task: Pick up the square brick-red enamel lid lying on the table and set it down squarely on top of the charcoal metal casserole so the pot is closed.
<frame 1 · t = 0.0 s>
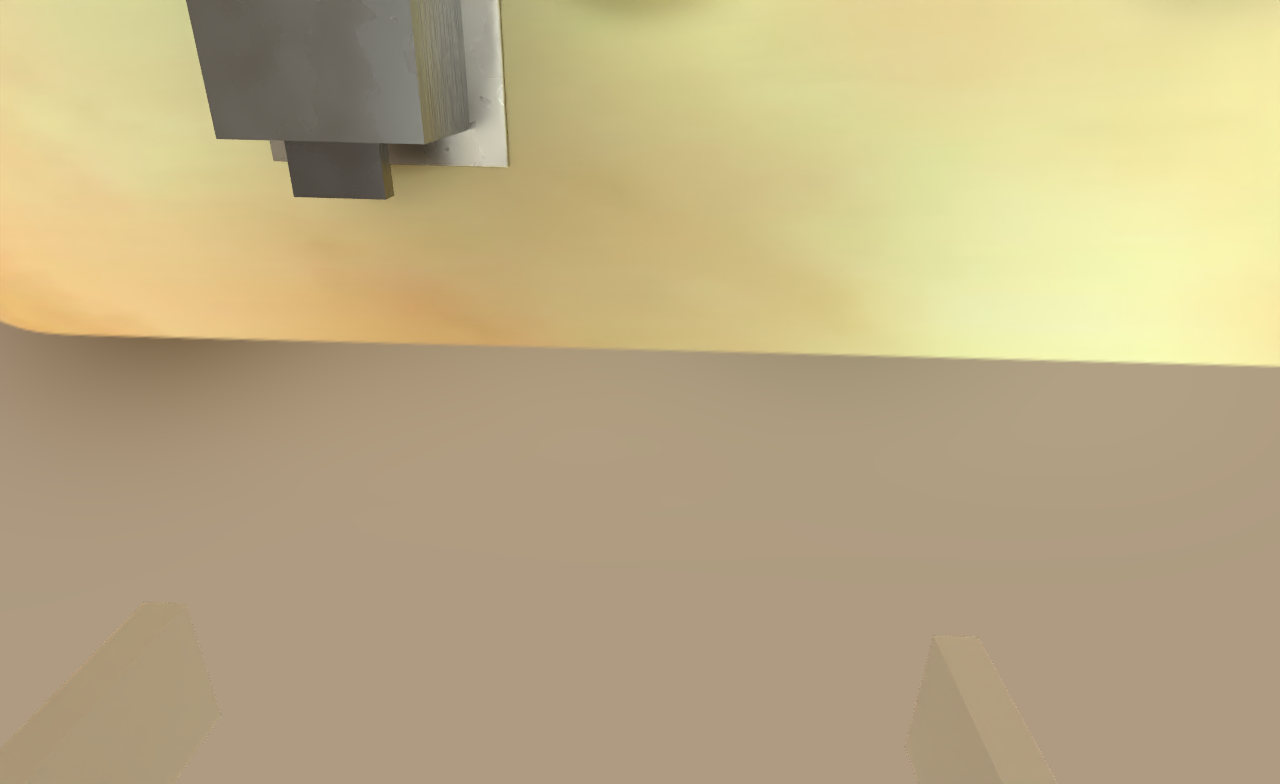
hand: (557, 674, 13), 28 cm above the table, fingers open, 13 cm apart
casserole: (377, 32, 34), on the table
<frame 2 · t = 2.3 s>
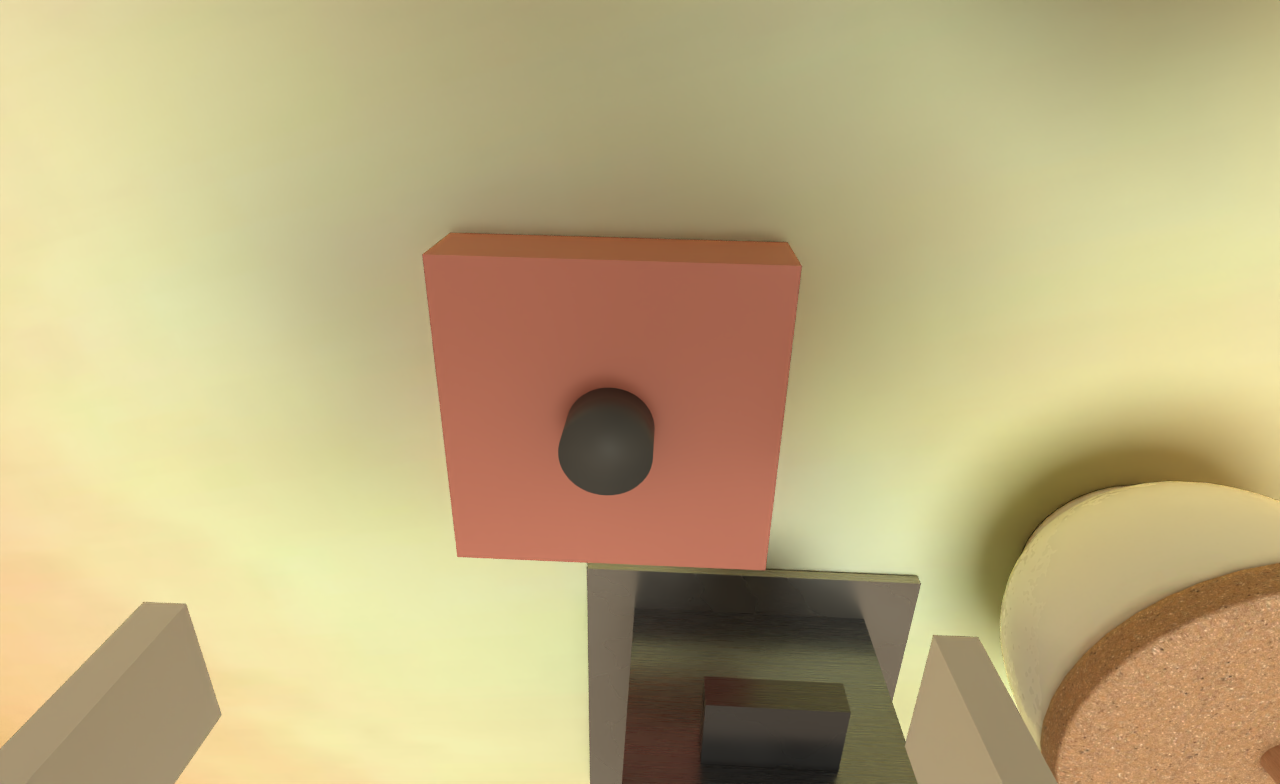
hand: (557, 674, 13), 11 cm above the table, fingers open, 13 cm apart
lidded jar: (1105, 554, 25), on the table
lid: (617, 384, 23), on the table
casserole: (738, 687, 28), on the table
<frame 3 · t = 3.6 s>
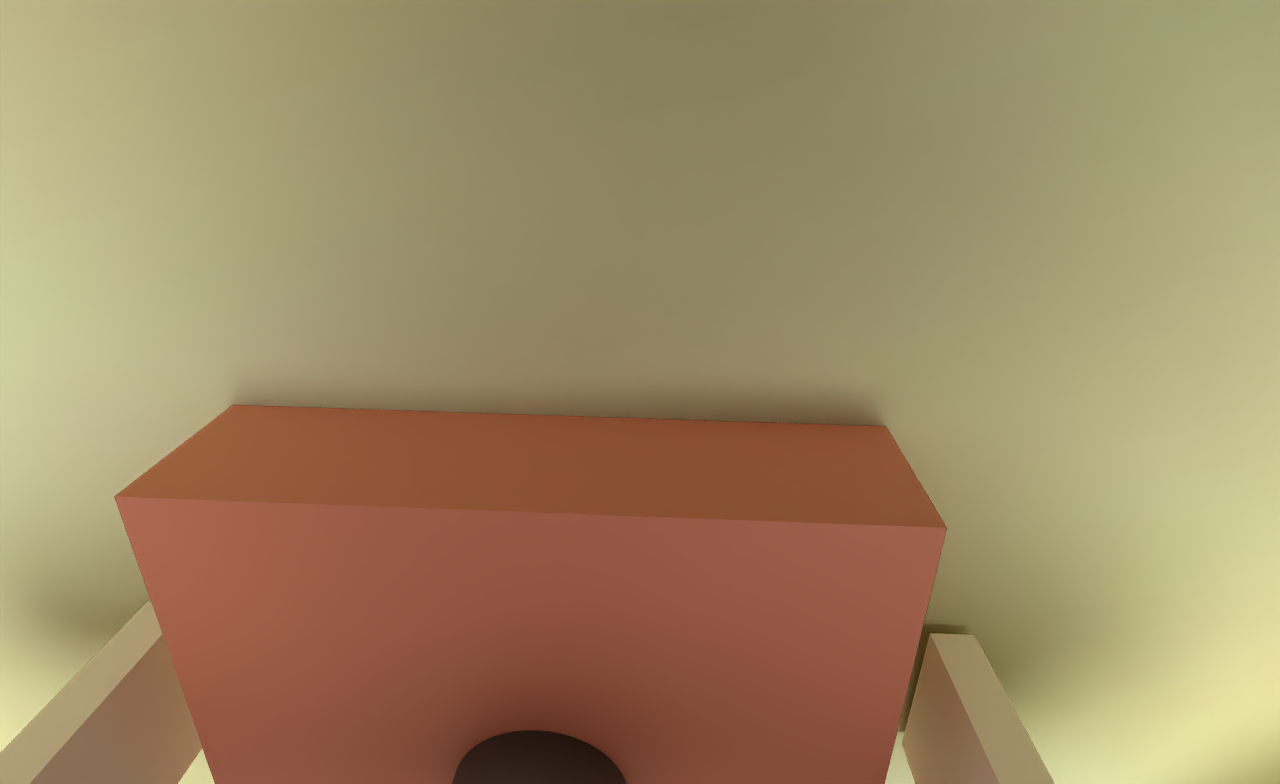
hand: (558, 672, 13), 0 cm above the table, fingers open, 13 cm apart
lid: (567, 642, 13), on the table
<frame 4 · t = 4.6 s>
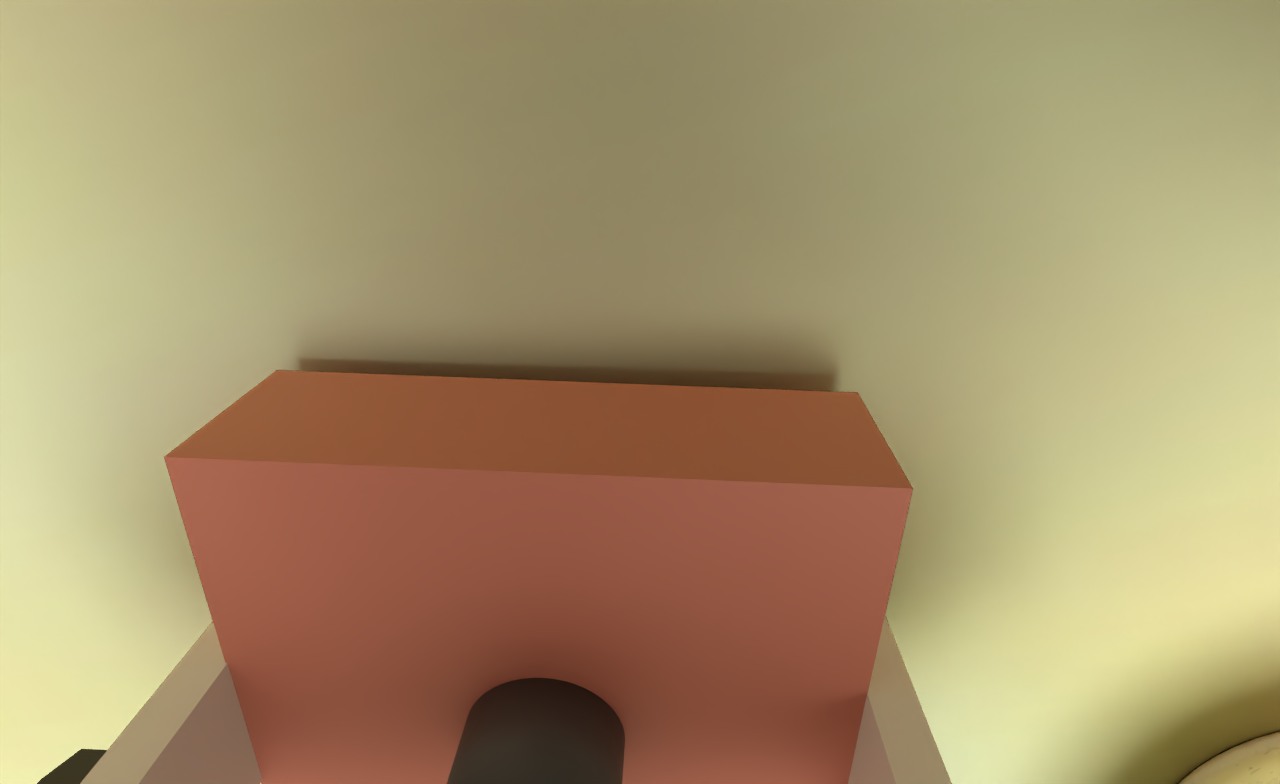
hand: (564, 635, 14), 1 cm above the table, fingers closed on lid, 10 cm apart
lid: (569, 608, 14), point 1 cm above the table, touching gripper
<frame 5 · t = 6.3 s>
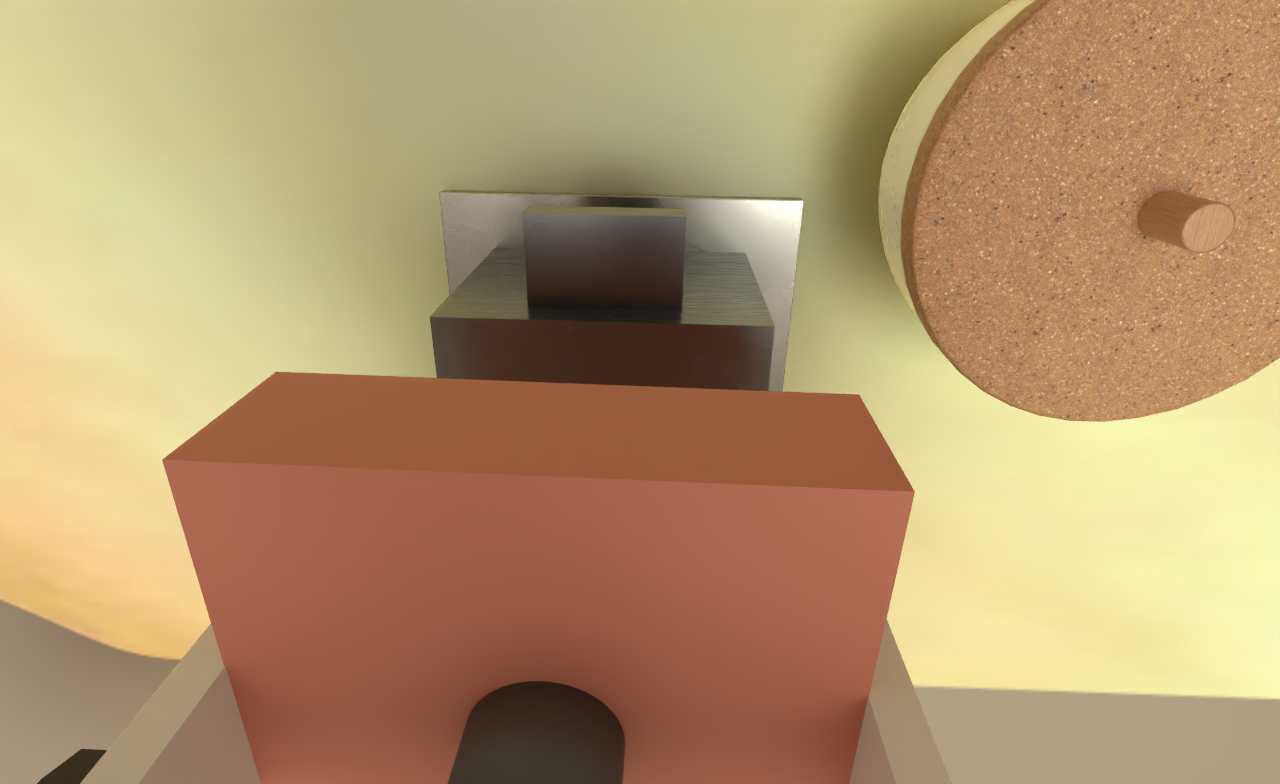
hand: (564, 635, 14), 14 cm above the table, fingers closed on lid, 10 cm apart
lidded jar: (1004, 165, 23), on the table
lid: (569, 610, 14), point 13 cm above the table, touching gripper
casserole: (620, 360, 26), on the table
when the fingers open (9 cm above the table, at t = 7.7 s): lid stays where it is, resting on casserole.
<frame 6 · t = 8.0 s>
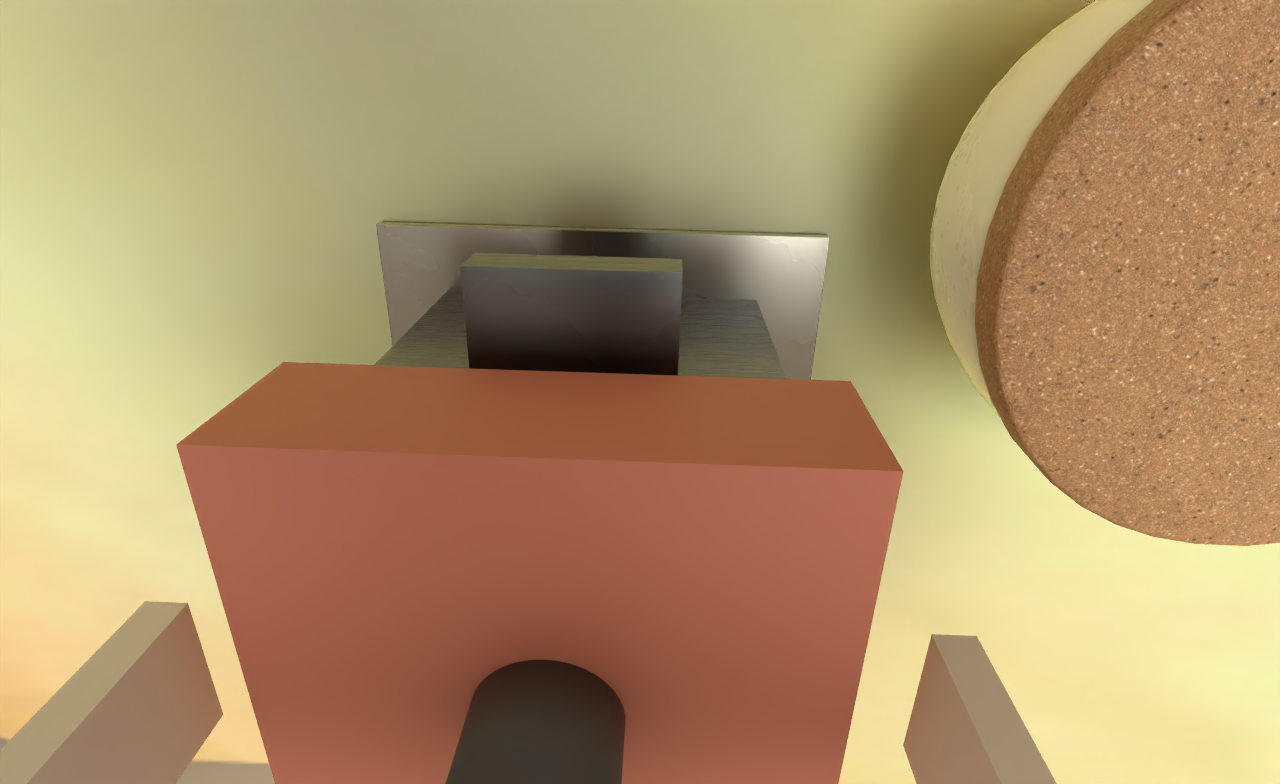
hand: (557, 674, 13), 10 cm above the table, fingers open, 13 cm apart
lidded jar: (1080, 195, 18), on the table
lid: (570, 595, 14), point 8 cm above the table, touching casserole
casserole: (602, 425, 21), on the table
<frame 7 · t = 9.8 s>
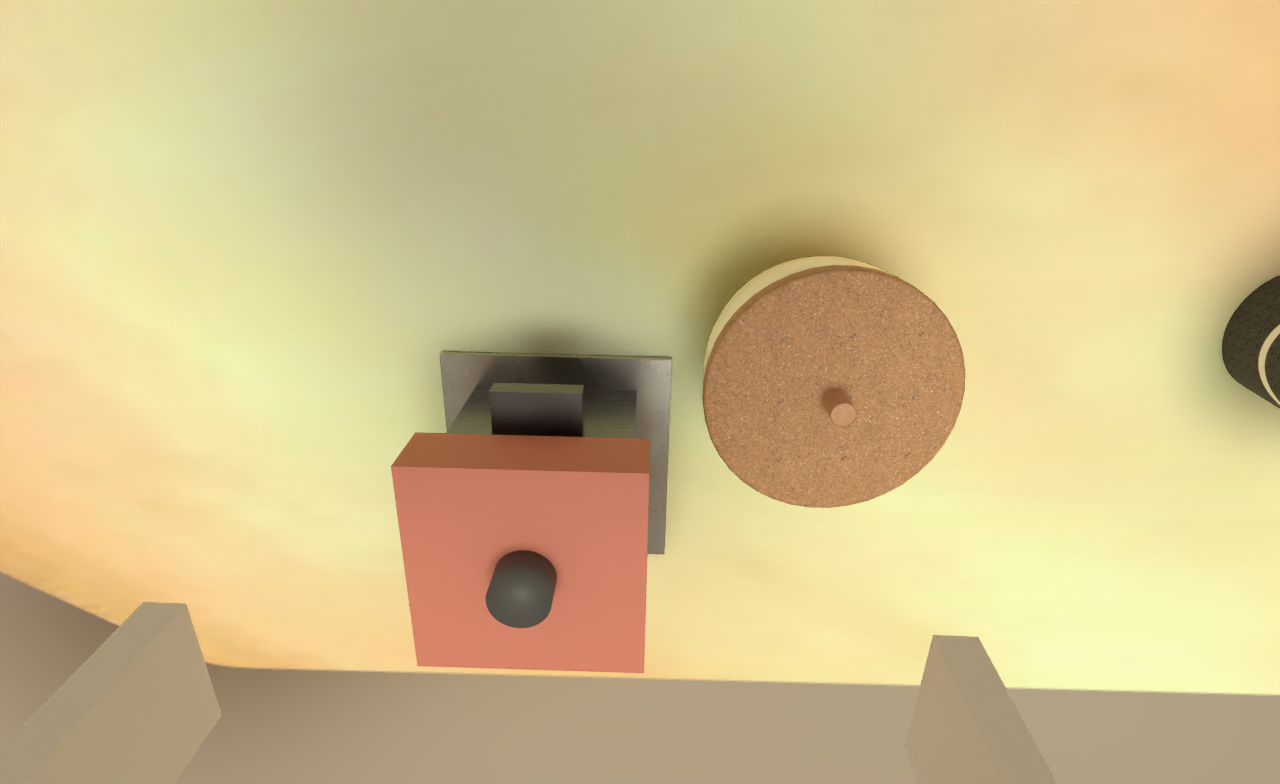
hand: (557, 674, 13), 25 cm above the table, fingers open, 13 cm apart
lidded jar: (798, 337, 36), on the table
lid: (536, 534, 32), point 8 cm above the table, touching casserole
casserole: (559, 456, 39), on the table
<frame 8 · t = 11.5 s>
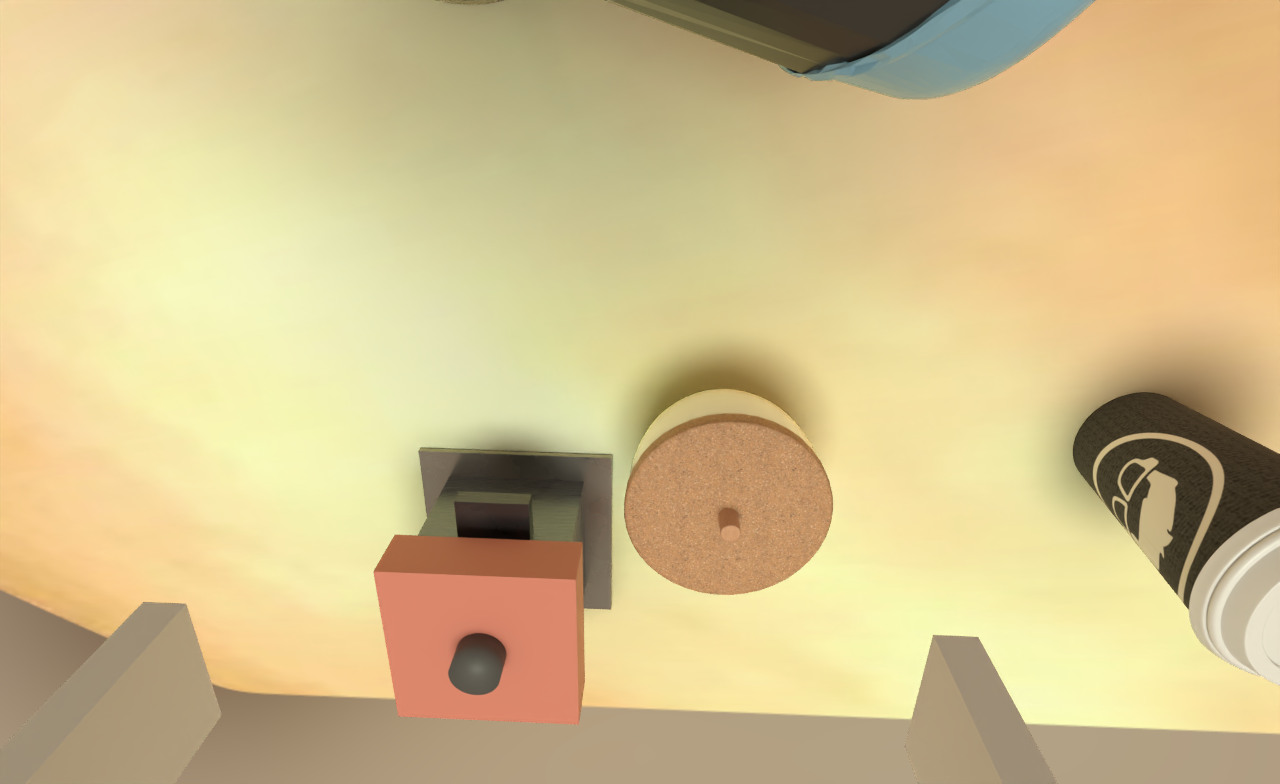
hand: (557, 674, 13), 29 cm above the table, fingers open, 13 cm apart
lidded jar: (717, 440, 43), on the table
lid: (494, 611, 39), point 8 cm above the table, touching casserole
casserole: (521, 530, 46), on the table
coffee cup: (1127, 439, 42), on the table
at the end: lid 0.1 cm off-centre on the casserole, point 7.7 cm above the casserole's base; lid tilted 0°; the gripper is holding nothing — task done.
